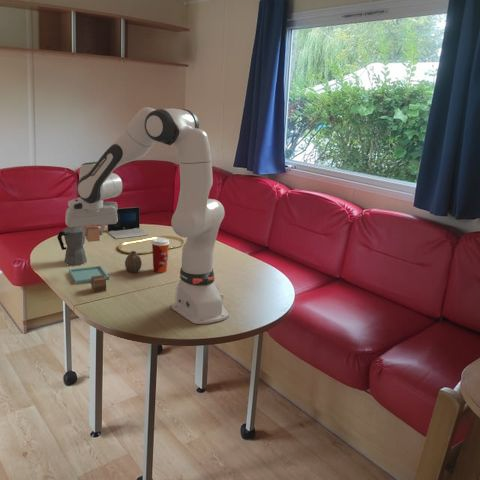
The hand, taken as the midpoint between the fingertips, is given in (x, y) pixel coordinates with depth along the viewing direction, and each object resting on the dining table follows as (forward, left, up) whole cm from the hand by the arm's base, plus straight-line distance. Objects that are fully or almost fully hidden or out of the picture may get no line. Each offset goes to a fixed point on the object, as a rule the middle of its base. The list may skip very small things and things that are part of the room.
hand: (92, 235), depth 195 cm
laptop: (+49, -30, -17) cm, 60 cm away
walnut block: (-17, +2, -17) cm, 24 cm away
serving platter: (+27, -35, -17) cm, 47 cm away
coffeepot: (+15, +5, -17) cm, 23 cm away
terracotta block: (0, 0, -2) cm, 2 cm away
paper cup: (-6, -27, -17) cm, 32 cm away
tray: (-3, +2, -16) cm, 17 cm away
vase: (-3, -16, -17) cm, 23 cm away
